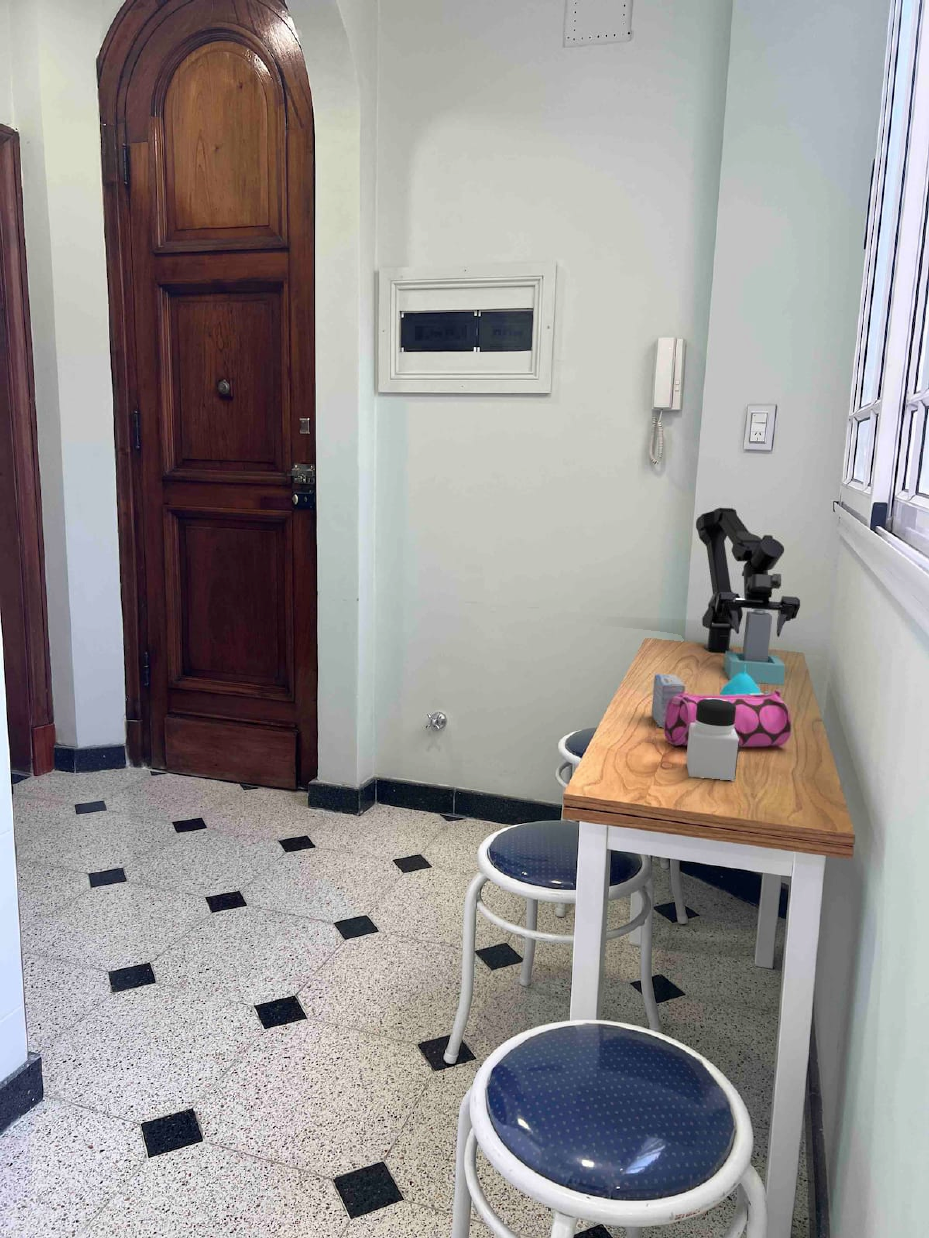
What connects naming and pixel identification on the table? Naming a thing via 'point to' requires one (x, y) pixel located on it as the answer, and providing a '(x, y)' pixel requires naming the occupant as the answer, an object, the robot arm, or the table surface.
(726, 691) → the toy shark
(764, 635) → the grey knobbed block
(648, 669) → the table surface
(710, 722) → the medicine bottle
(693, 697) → the pencil case
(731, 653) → the teal base brick
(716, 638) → the robot arm
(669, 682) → the medicine box
